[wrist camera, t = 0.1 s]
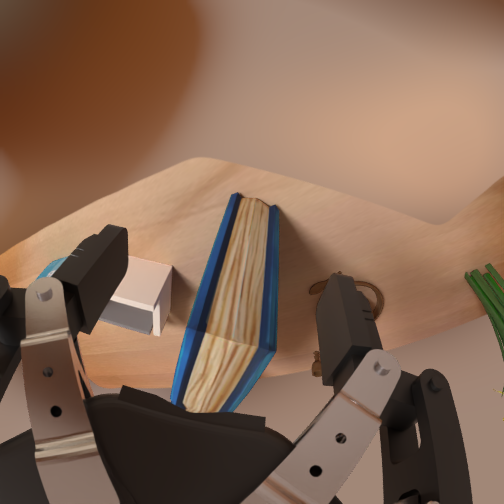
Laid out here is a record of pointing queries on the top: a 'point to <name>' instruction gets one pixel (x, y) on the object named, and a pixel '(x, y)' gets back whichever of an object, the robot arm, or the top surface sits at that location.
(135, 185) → the top surface
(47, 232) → the top surface
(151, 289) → the shelf nook
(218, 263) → the book
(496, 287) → the daffodil flowers
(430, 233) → the top surface
